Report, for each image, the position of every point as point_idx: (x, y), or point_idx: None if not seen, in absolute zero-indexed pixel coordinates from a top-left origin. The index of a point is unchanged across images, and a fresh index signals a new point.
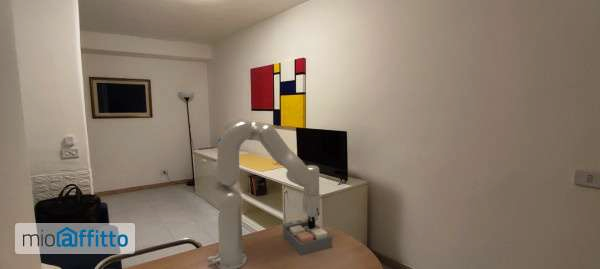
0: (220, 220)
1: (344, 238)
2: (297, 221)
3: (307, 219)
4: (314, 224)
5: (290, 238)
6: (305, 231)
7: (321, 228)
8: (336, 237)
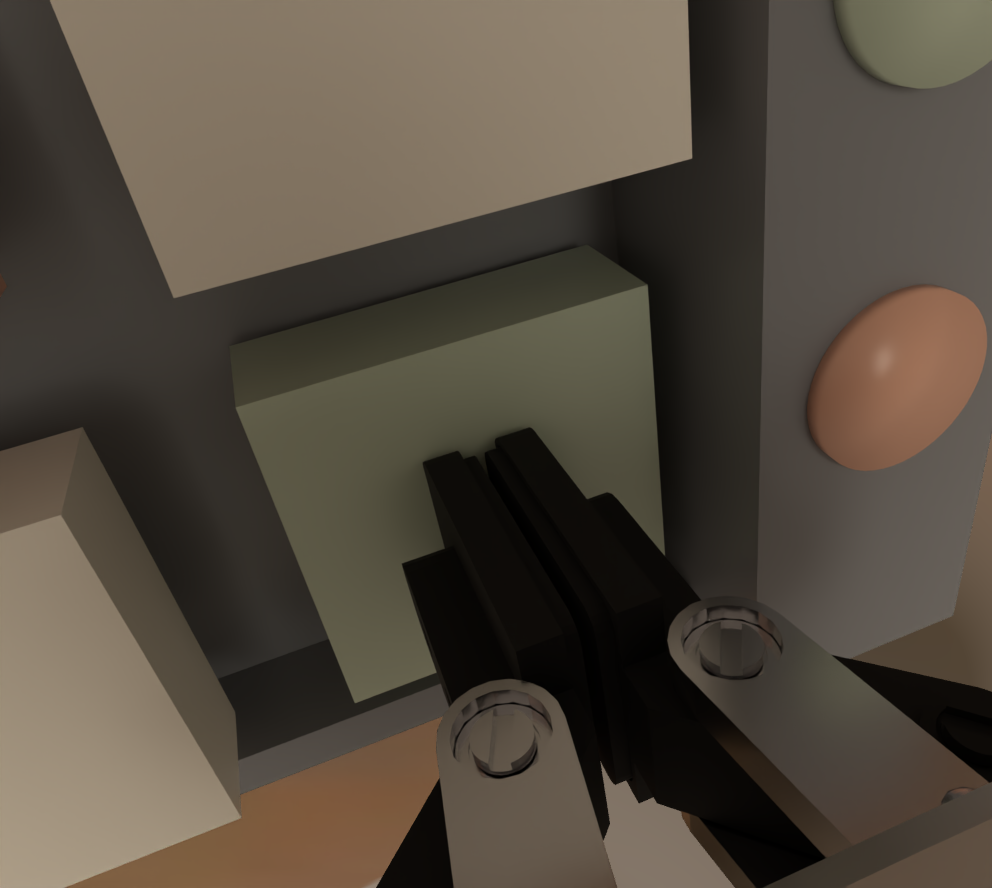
0: None
1: (280, 878)
2: (984, 122)
3: (913, 505)
4: (445, 694)
5: None
6: (472, 289)
7: (194, 828)
8: (343, 784)
